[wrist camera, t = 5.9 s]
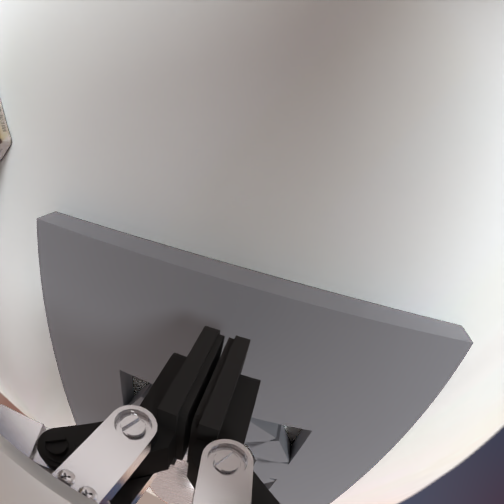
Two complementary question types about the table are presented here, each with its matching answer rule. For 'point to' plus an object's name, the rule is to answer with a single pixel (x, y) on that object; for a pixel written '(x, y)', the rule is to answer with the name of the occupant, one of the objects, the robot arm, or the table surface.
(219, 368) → the robot arm
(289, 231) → the table surface
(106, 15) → the table surface
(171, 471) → the metal ball
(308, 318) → the hole board
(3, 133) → the coffee box
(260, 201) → the table surface
